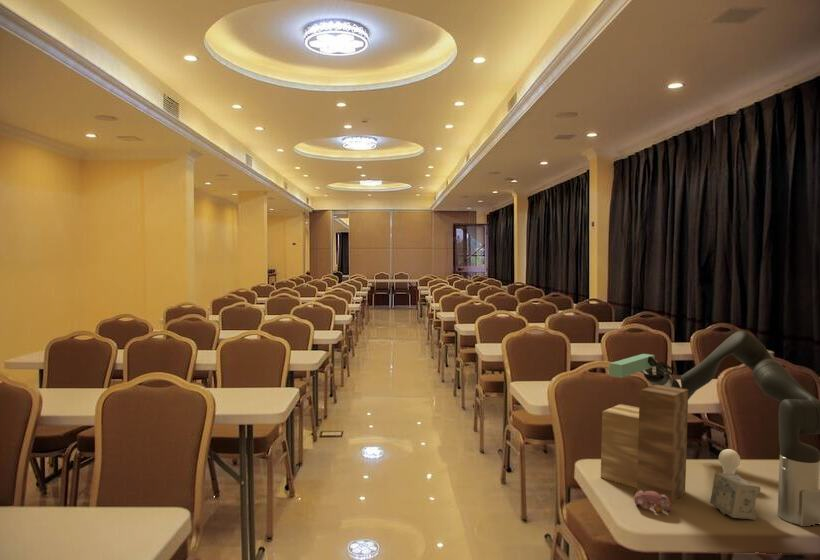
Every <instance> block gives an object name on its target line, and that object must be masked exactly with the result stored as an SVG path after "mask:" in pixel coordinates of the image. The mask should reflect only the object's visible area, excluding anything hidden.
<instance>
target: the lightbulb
mask: <svg viewBox="0 0 820 560" xmlns="http://www.w3.org/2000/svg"><path fill="white" fill-rule="evenodd" d="M718 461H719V463H720V465H721V467H722V473H729V474H735V473H736V470H737V469H738V467H739V466H740V464H741V456H740V454H739V453H738V452H737V451H735V450H734V449H730V448H726V449H723V450H721V451H720V453H719V455H718Z"/></svg>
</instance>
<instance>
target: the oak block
mask: <svg viewBox="0 0 820 560" xmlns="http://www.w3.org/2000/svg"><path fill="white" fill-rule="evenodd" d="M601 413H602V415H601V417H602V418H601V444H600V445H601V446H600V447H601V450H600V451H601V453H600V456H601V457H600V479H602V478H604V479H603V480H606V479H608V480H607V481H609V480H611V481H610V482H613V481H614V483H617V482H618V484H620V483H622V485H624V484H625V485H624V486H627V485H628V487H631V488H634V489H637V470H638V434H639V406H633V405H628V404H623V403H620V404H617V405H614V406H612V407H610V408H606V409H604V410H602V411H601Z"/></svg>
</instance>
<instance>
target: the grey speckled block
mask: <svg viewBox="0 0 820 560" xmlns="http://www.w3.org/2000/svg"><path fill="white" fill-rule="evenodd" d="M712 484H713V485H712V490H711V495H710V499H709V500H710V501H709V503H710V505H712V506H713V507H715V508H717V509H718V510H720V513H721V514H722V515H723V516H725V515H727V516H730V517H731V518H734V519H741V520H742V519H747V520H752V521H756V520H757V518H758V517H757V514H756V512H755V510H756V509H755V507H756V498H757V497H758V496H759V495H760V492H761V486H760V485H758V484H754V483H751V482H749V481H747V480H746V479H744V478H742V477H741V476H740V475H739V474H737V473H736V474H729V473H723V472H720V471H715V473H714V478H713V483H712Z"/></svg>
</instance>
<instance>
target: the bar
mask: <svg viewBox="0 0 820 560" xmlns="http://www.w3.org/2000/svg"><path fill="white" fill-rule="evenodd" d="M636 355H637V356H635V355H633V356H630V357H627V358H623V359H620V360H616V361H613V362H610V363H609V370H608V371H609V377H614V378H621V379H622V378H626V377H628V376H631V375H634V374H637V373H641V371H643V370H646V369H649V368H652V366H651V365H650V364H649V363H648V358H649V356H651V357H652V358H654V360H656V359H655V354H650V353H641V354H636Z"/></svg>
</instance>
